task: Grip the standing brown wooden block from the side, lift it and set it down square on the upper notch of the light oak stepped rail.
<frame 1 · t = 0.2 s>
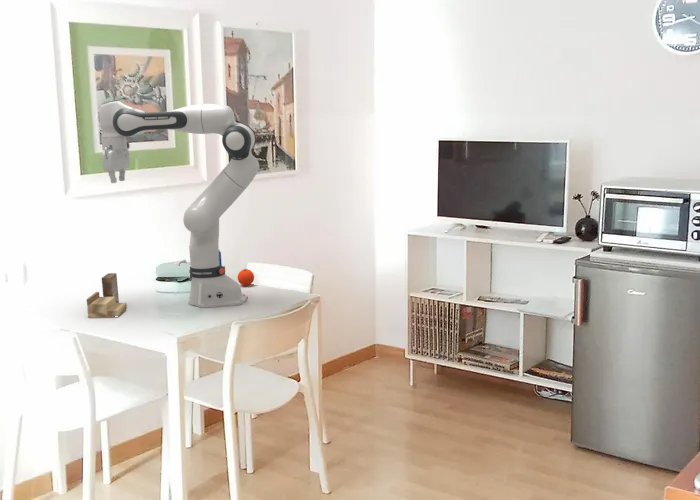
hand: (118, 181, 301), 47 cm above the table, tool pointing down, fingers open, 8 cm apart
wall hook: (189, 281, 346), on the table
beverage can: (214, 277, 352), on the table
oak notch rail: (106, 313, 297), on the table
clementine: (246, 285, 335), on the table
brown wooden block: (111, 305, 307), on the table
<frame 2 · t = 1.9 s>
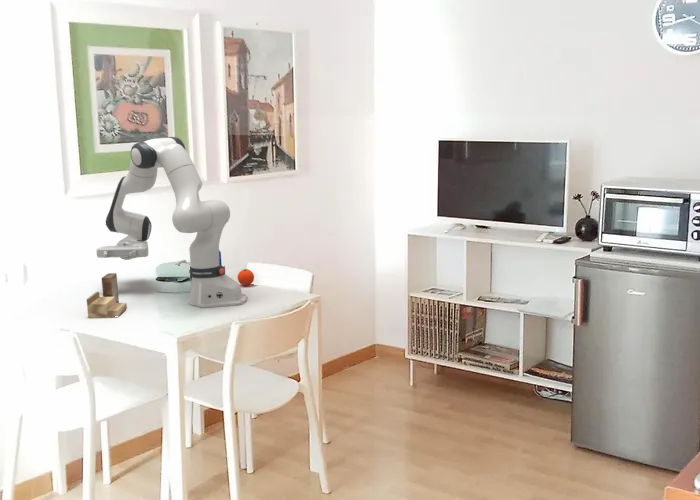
hand: (117, 255, 316), 17 cm above the table, tool horizontal, fingers open, 8 cm apart
nothing on the table moved.
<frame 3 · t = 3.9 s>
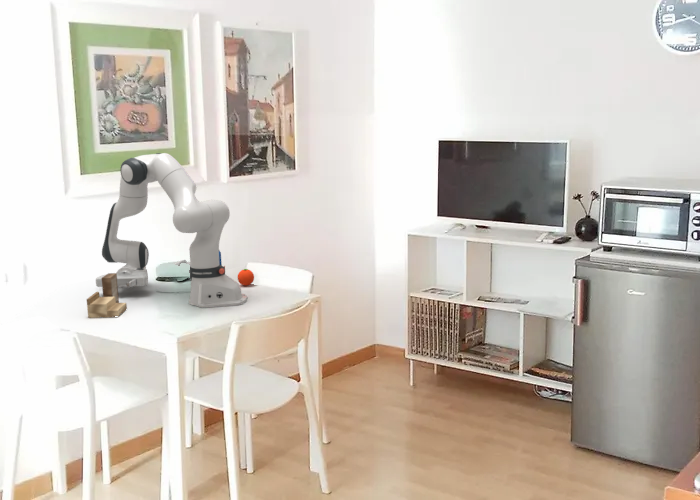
hand: (116, 285, 313), 6 cm above the table, tool horizontal, fingers open, 8 cm apart
nothing on the table moved.
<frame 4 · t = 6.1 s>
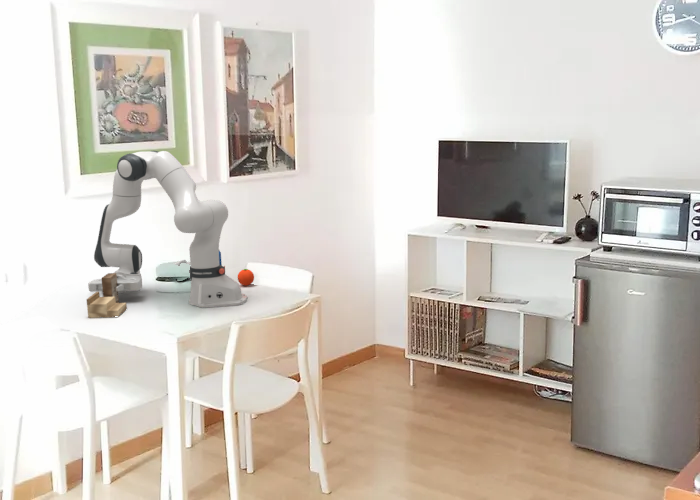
hand: (109, 289, 305), 7 cm above the table, tool horizontal, fingers closed on brown wooden block, 3 cm apart
brown wooden block: (111, 305, 307), on the table, touching gripper
everything else where it was.
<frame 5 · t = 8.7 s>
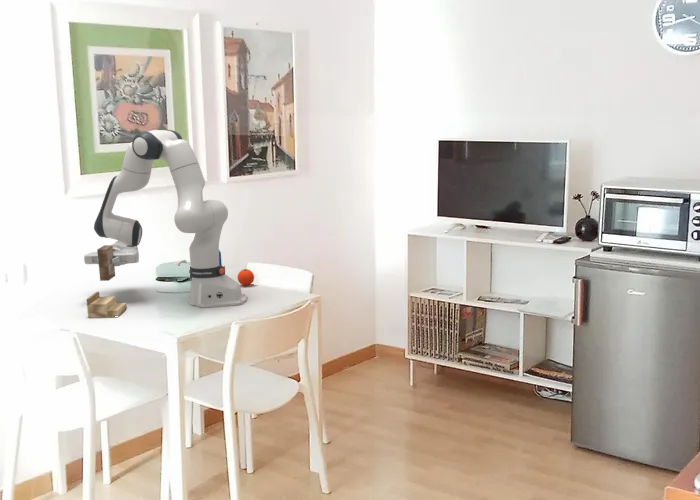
hand: (105, 261, 301), 18 cm above the table, tool horizontal, fingers closed on brown wooden block, 3 cm apart
brown wooden block: (107, 278, 303), point 11 cm above the table, touching gripper
everything else where it was.
when the fingers open (12 cm above the table, at t = 11.5 s): brown wooden block stays where it is, resting on oak notch rail.
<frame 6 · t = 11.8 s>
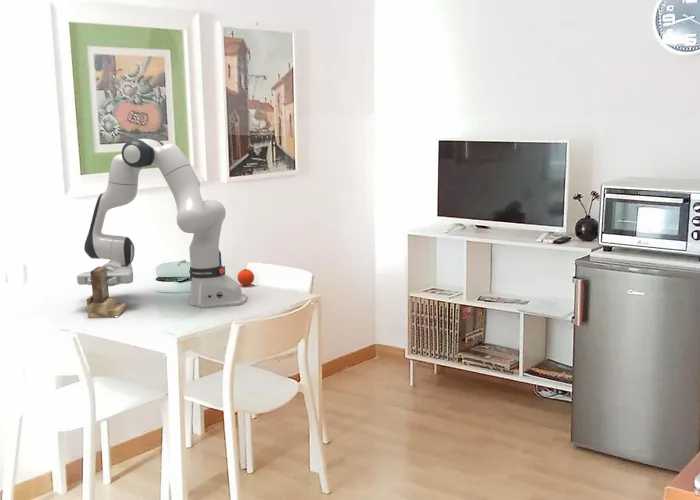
hand: (98, 282, 293), 12 cm above the table, tool horizontal, fingers open, 6 cm apart
brown wooden block: (101, 300, 296), point 5 cm above the table, touching oak notch rail
everything else where it was.
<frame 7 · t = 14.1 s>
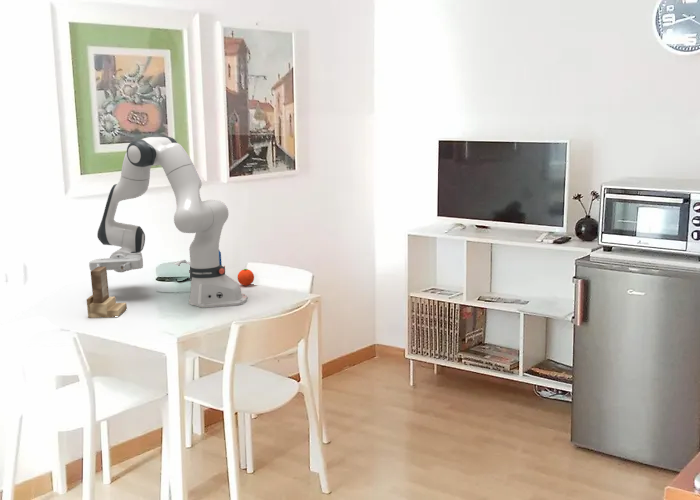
hand: (110, 268, 306), 15 cm above the table, tool horizontal, fingers open, 8 cm apart
nothing on the table moved.
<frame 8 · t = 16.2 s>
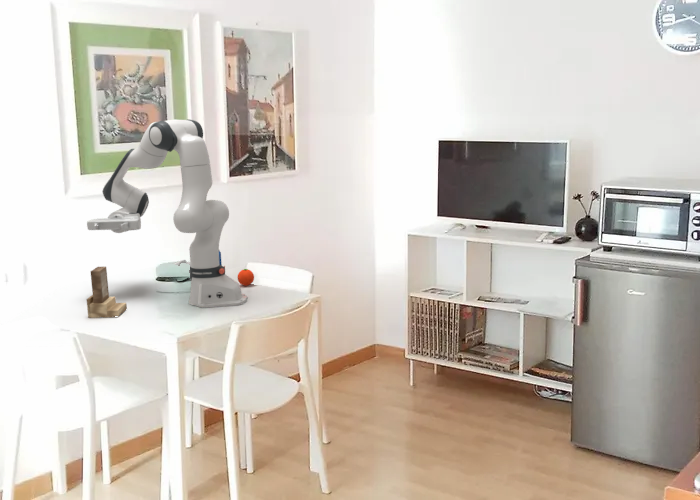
hand: (108, 227, 306), 30 cm above the table, tool horizontal, fingers open, 8 cm apart
nothing on the table moved.
at the end: brown wooden block inside the target area on the oak notch rail (0.2 cm from its centre), point 5.0 cm above the oak notch rail's base; brown wooden block tilted 0°; the gripper is holding nothing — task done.
